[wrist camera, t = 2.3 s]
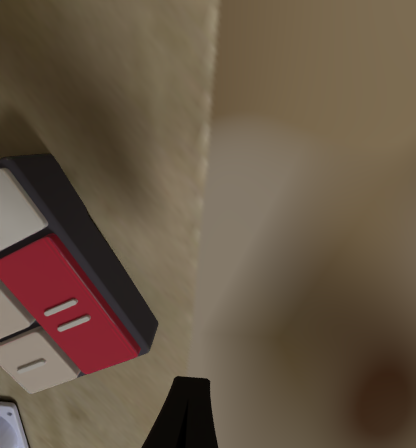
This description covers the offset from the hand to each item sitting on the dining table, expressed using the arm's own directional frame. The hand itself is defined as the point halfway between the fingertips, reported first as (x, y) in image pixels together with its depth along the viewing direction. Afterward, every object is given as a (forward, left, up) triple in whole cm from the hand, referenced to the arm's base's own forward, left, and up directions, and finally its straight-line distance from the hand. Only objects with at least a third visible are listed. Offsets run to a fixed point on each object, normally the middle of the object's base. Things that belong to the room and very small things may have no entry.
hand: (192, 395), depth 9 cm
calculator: (0, +12, -9) cm, 15 cm away
